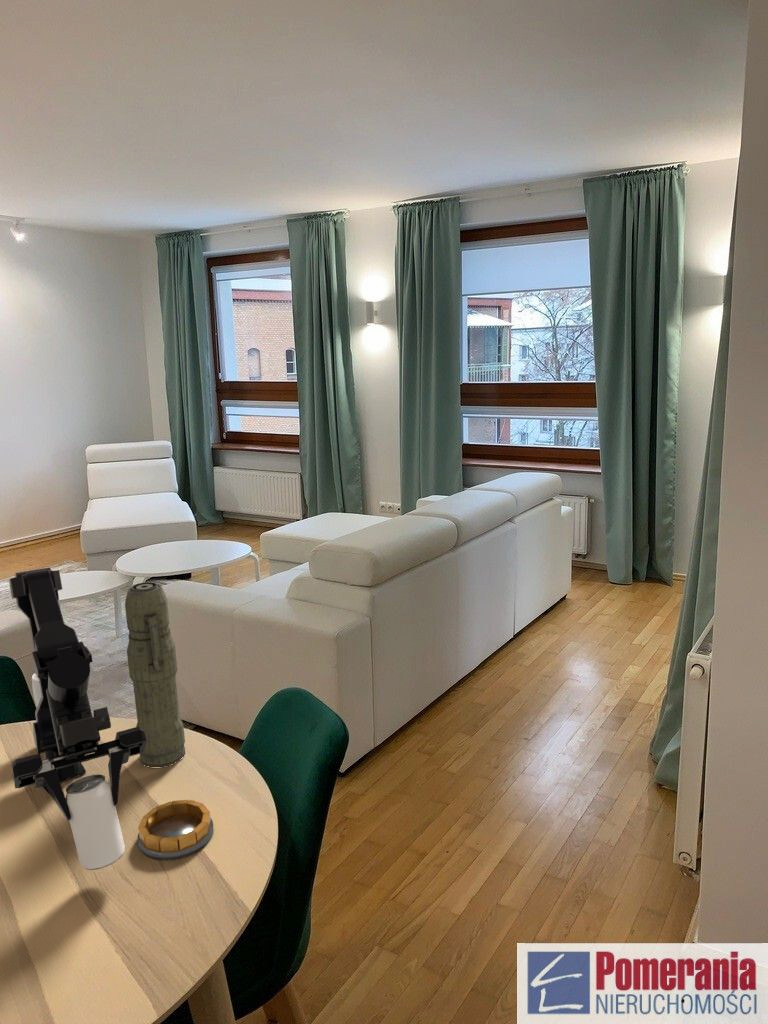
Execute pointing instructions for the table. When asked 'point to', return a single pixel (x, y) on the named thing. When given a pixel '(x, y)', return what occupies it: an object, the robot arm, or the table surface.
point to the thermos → (154, 674)
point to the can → (94, 822)
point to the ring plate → (175, 830)
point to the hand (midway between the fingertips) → (92, 812)
